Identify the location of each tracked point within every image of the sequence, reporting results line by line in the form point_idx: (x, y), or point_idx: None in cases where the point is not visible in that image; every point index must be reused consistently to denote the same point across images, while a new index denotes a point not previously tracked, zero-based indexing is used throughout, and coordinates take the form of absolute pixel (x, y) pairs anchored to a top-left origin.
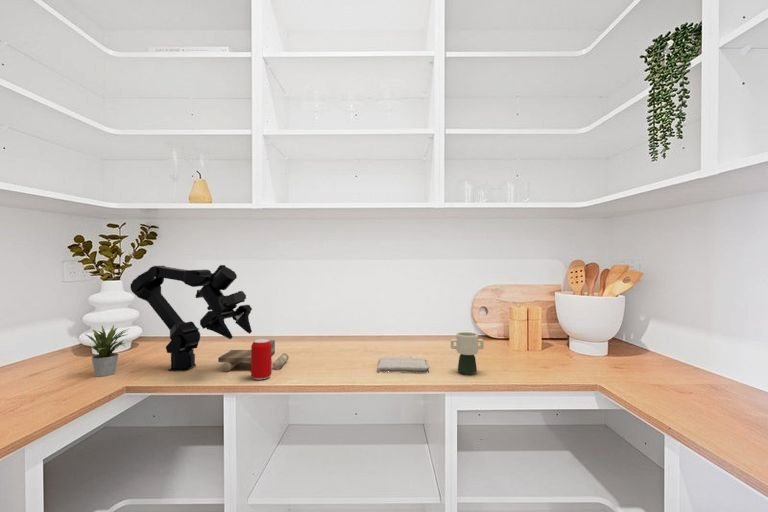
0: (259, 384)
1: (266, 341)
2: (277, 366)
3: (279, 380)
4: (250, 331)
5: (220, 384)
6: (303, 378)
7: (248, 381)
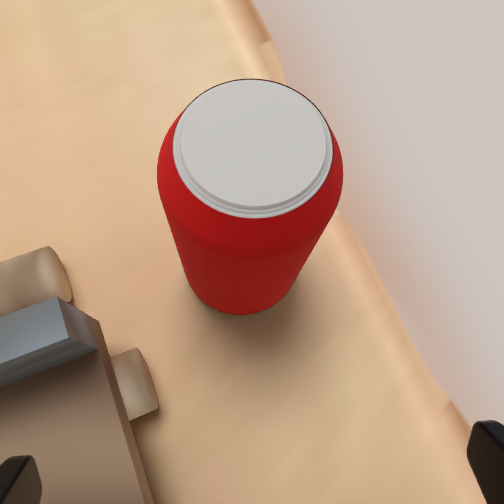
0: None
1: (262, 81)
2: (61, 274)
3: None
4: (30, 467)
5: (422, 405)
6: (171, 78)
7: (314, 291)
